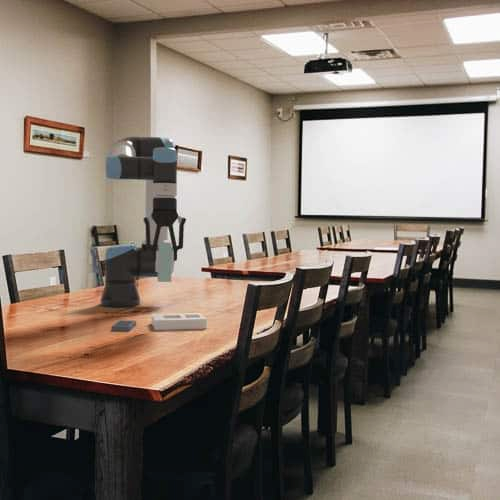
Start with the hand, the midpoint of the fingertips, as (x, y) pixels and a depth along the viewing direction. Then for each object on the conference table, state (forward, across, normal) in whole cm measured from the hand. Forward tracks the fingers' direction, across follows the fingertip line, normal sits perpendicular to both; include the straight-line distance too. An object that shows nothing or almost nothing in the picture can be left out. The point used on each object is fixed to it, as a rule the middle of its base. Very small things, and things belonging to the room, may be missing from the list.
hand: (164, 271), depth 206 cm
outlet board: (+17, +4, -1) cm, 18 cm away
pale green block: (+3, 0, 0) cm, 3 cm away
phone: (+18, -13, -2) cm, 22 cm away
